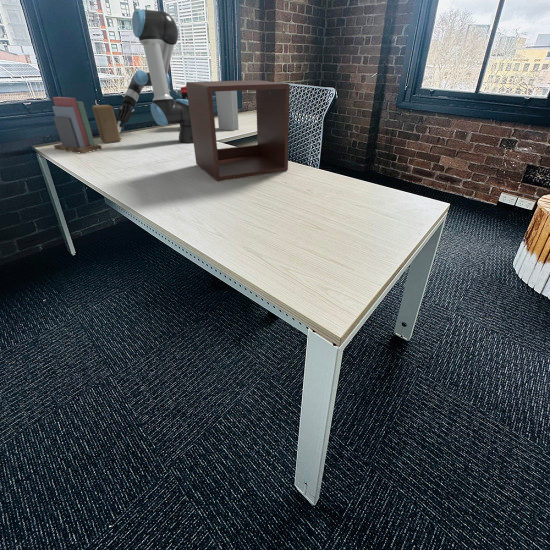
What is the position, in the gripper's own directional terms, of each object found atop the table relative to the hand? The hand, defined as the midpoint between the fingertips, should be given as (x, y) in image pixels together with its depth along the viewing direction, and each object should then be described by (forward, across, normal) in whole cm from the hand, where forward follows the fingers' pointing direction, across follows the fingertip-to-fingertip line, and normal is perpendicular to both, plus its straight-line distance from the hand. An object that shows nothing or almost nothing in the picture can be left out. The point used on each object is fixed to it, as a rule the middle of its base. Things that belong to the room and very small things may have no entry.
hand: (117, 131), depth 211 cm
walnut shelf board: (+25, -2, +19) cm, 31 cm away
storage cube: (+19, -106, +13) cm, 108 cm away
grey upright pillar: (-38, -45, -47) cm, 75 cm away
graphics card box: (-32, -20, -40) cm, 55 cm away
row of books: (+23, -2, +20) cm, 31 cm away
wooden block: (+9, -2, +2) cm, 9 cm away
